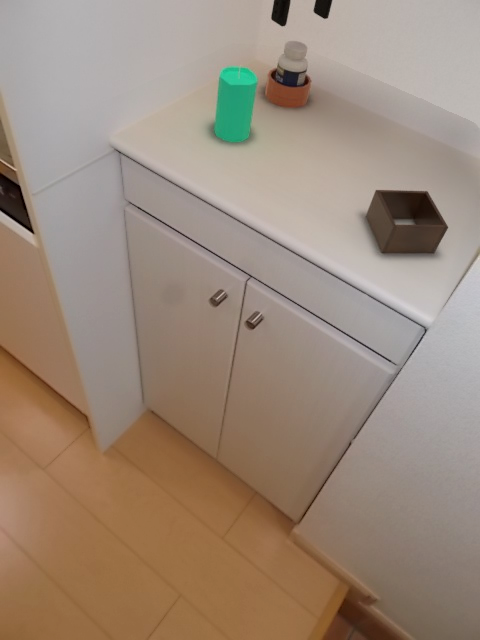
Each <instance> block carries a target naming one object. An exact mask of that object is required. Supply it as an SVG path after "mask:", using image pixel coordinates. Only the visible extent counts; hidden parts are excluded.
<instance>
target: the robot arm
mask: <svg viewBox="0 0 480 640" xmlns="http://www.w3.org/2000/svg"><path fill="white" fill-rule="evenodd" d="M332 4H333V0H315V2H314V6H313V9H312V10H313V13H314V14H315V15H316V16H319V17H320V18H322V19H324V20H326V19H329V16H330V12H331V9H332V8H331V7H332ZM290 6H291V0H273V4H272V10H271V15H270V19H271V21H273V22H274V23H276V24H277V25H279V26H280V27H286V26H287V23H288V17H289V13H290Z"/></svg>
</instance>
